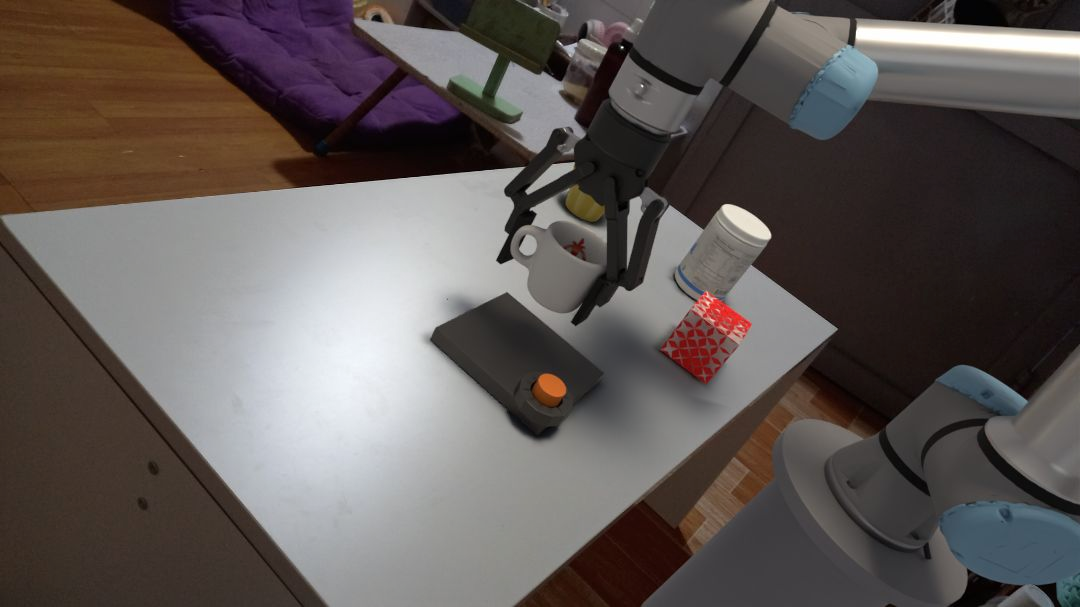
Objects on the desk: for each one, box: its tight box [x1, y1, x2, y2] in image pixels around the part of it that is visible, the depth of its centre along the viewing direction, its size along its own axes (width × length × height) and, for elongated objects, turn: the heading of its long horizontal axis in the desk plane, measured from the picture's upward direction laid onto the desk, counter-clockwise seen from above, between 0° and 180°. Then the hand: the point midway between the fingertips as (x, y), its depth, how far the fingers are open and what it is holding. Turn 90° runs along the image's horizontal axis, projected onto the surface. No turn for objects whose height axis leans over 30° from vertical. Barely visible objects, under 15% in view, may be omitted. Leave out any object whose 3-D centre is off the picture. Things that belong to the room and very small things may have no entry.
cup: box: [511, 220, 607, 314], centre depth 71 cm, size 11×8×8 cm
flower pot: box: [565, 163, 605, 223], centre depth 112 cm, size 10×10×10 cm
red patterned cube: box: [659, 291, 753, 385], centre depth 91 cm, size 8×8×8 cm
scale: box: [429, 291, 605, 436], centre depth 74 cm, size 17×15×4 cm
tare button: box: [532, 374, 566, 408], centre depth 67 cm, size 3×3×2 cm
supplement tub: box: [674, 203, 772, 302], centre depth 107 cm, size 10×10×15 cm
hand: (541, 289), depth 73 cm, fingers closed on cup, 10 cm apart
